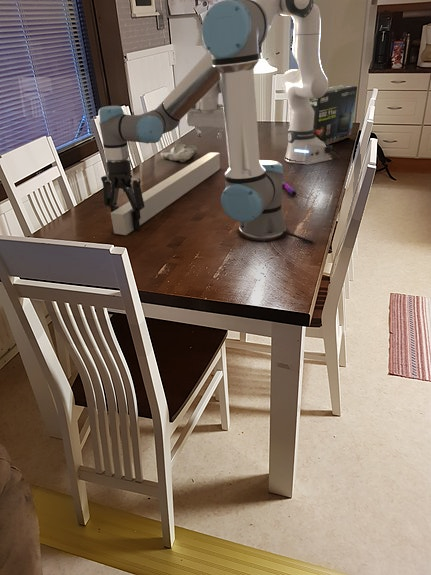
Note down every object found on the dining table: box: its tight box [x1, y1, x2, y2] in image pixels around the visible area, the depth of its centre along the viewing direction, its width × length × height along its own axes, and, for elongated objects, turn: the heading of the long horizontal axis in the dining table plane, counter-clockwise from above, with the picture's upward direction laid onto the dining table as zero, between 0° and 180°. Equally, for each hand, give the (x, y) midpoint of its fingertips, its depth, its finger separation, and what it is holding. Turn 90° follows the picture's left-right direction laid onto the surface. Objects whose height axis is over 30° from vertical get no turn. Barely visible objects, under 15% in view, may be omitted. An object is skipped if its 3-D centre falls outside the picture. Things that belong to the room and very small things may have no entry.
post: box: [110, 151, 221, 236], centre depth 181 cm, size 78×5×7 cm, turn 156°
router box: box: [309, 84, 358, 144], centre depth 238 cm, size 36×11×27 cm, turn 134°
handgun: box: [282, 179, 297, 197], centre depth 185 cm, size 21×8×2 cm, turn 11°
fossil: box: [160, 142, 199, 163], centre depth 229 cm, size 18×11×15 cm
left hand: (127, 226), depth 155 cm, fingers open, 7 cm apart
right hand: (209, 137), depth 201 cm, fingers open, 8 cm apart
